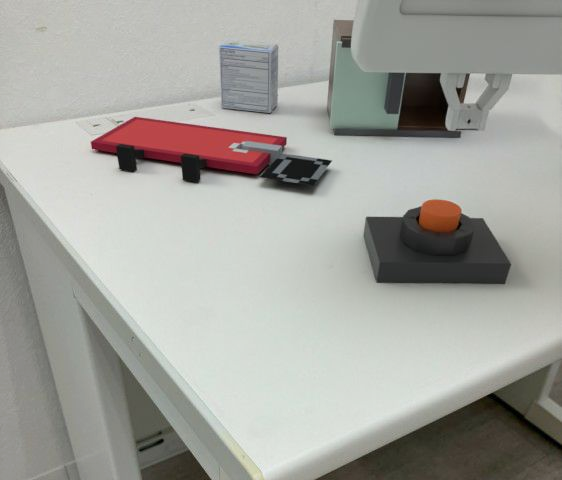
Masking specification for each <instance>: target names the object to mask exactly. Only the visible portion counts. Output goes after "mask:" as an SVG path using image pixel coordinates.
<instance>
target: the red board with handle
mask: <svg viewBox="0 0 562 480" xmlns="http://www.w3.org/2000/svg"><path fill="white" fill-rule="evenodd" d="M287 141H288V137H287V136H280V135H274V134H267V133H258V132H251V131H243V130H237V129H229V128H221V127H214V126H207V125H200V124H199V125H198V124H193V123H192V124H191V123H184V122H179V121H178V122H176V121H169V120H161V119H155V118H147V117H140V116H134V117H132V118H130V119H128V120H126V121H125V122H123V123H120V124H119V125H118V126H116V127H114V128H112V129H110V130H108V131H107V132H105V133H103V134H102V135H100V136H98V137H96V138H94V139H93V140H91V141H90V145H91V146H90V147H91V150H93V149H95V150H94V151H100V150H101V151H100V152H106V153H107V152H108V153H114V154H116V156H117V163H118V169H122V170H121V171H124V170H127V171H126V172H130V171H131V173H134V172H136V171H137V170H138V166H137V159H143V158H147V159H154V160H160V161H166V162H172V163H173V162H174V163H178V164H179V163H180V165H181V177H182V181H185V182H186V181H187V182H194V183H198V182H199V181H201V178H202V177H201V169H202V168H212V169H217V170H219V169H221V170H226V171H232V172H238V173H245V174H246V173H247V174H251V175H252V174H253V175H258V174H259V173H260V172H261V171H262V170H264V168H265V167H266V166H267V165H268V166H269V167H267V169H265V170H264V172H263V173H261V175H259V178H261V179H268V180H274V181H281V182H287V183H294V184H301V185H306V186H307V185H308V186H314V185H316V183H317V182H318V180H319V179H320V178H321V176H322V175H323V174H324V172H326V170H327V169H328V167H329V166H330V165H331V163H332V162H333V160H332V159H325V158H319V157H311V156H310V157H309V156H303V155H295V154H288V153H283V149H284V148H285V147H286V146H287V145H288V144H287V143H288V142H287Z"/></svg>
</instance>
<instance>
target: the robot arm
mask: <svg viewBox="0 0 562 480" xmlns="http://www.w3.org/2000/svg"><path fill="white" fill-rule="evenodd" d="M353 20H354V23H353V30H352V37H351V54H352V57H353V59H354V60H355V62H356V63H357V65H358V66H359V67H360V69H361V70H362V71H364V72H396V73H441V76H440V83H441V86H442V89H443V91H444V94H445V97H446V100H447V103H448V104H449V106H448V111H447V116H446V123H445V124H446V127H447V129H448V130H449V131H461V132H463V131H466V132H483V131H484V130H485V129H486V125H487V120H488V117H489V113H490V111H491V110H492V109H494V107H495V106H496V104H497V103H498V102H499V101H500V100H501V99H502V98H503V97H504V95H505V94H506V93H507V91H509V89H510V85H511V82H512V78H513V75H544V76H545V75H548V76H549V75H554V76H556V75H557V76H560V75H561V76H562V0H357V1H356V6H355V11H354V17H353ZM466 73H470V75H471V74H474V75H475V74H477V75H479V74H481V75H483V74H484V81H485V83H487V84H488V85H487V86H486V88H485V89H484V91H483V92H482V93H481V94H480V96H479V97H478V99H477V100H476V101H475V103H474V102H473V103H466V102H464V103H460V101H459V98H458V95H457V91H456V87H457V88H462V87H463V85H464V81H465V76H466Z"/></svg>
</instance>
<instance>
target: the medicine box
mask: <svg viewBox="0 0 562 480" xmlns="http://www.w3.org/2000/svg"><path fill="white" fill-rule="evenodd" d="M218 55H219V80H220V105H221V108H222V109H229V110H230V109H231V110H237V111H238V110H239V111H248V112H249V111H250V112H258V113H266V114H270V113H272V112H273V110H274V109H275V108H276V106H278V101H279V99H278V95H279V93H278V91H279V44H278V43H271V42H263V41H254V40H253V41H251V40H242V39H241V40H239V39H227V40H226V41H224V42H223V43H222V44H221V45H220V46H219V47H218Z"/></svg>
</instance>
